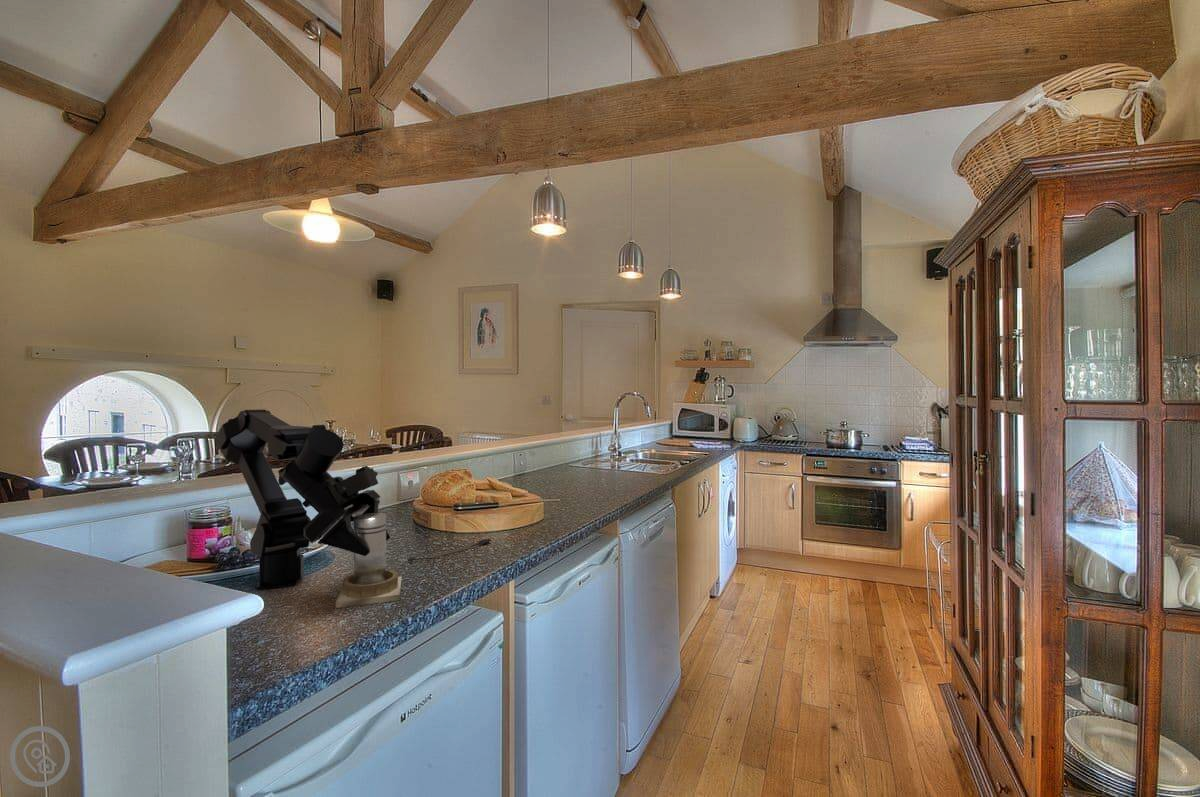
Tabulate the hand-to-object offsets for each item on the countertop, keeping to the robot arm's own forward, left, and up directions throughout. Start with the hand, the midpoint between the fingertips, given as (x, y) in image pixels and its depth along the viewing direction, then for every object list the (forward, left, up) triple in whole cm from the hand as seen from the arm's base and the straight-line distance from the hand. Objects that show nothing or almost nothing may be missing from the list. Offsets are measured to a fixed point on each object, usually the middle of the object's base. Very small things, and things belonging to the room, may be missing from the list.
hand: (378, 546), depth 95 cm
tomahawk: (+15, +21, -9) cm, 27 cm away
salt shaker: (-1, +1, -8) cm, 8 cm away
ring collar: (-1, 0, -9) cm, 9 cm away
